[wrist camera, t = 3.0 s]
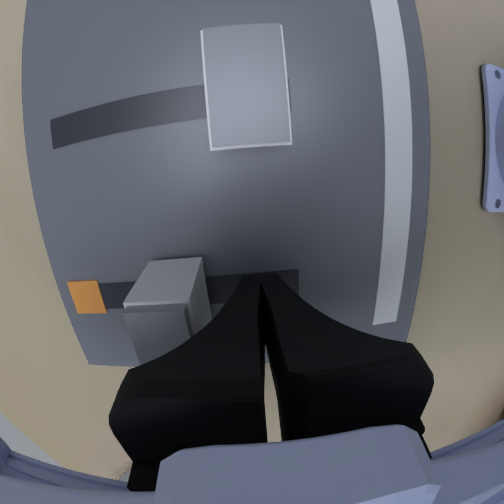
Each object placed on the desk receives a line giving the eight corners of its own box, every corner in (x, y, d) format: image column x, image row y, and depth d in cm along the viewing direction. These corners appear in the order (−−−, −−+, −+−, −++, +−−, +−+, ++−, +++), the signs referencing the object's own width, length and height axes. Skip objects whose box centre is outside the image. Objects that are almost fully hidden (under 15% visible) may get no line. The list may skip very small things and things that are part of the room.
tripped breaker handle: (201, 256, 11) (186, 307, 8) (213, 329, 12) (206, 390, 9) (149, 260, 11) (118, 310, 8) (166, 331, 12) (147, 389, 9)
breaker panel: (368, -80, 7) (409, -131, 2) (391, 320, 15) (435, 388, 10) (57, -44, 7) (3, -80, 2) (102, 341, 15) (65, 411, 10)
